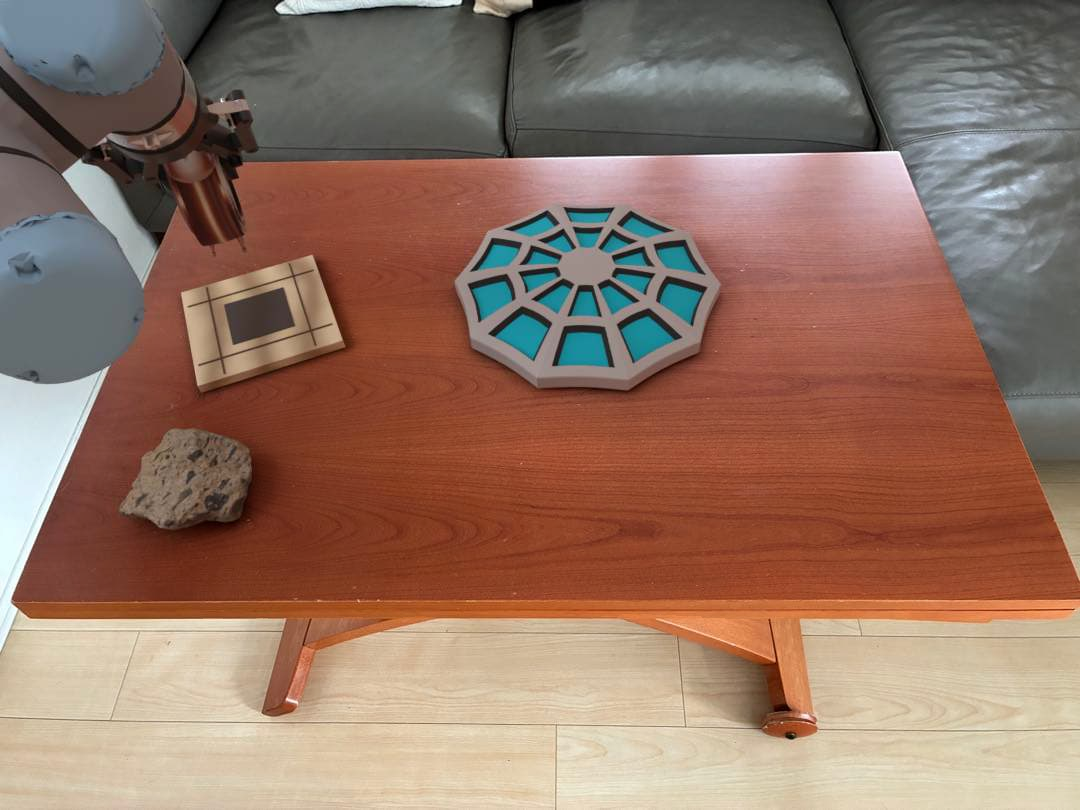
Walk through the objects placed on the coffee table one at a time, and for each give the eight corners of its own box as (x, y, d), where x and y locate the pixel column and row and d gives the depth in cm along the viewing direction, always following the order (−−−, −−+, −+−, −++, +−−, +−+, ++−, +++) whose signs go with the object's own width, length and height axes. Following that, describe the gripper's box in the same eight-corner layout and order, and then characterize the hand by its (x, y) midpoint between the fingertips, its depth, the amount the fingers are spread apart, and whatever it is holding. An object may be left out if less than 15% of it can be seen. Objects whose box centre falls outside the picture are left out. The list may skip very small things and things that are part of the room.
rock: (219, 554, 71) (201, 530, 67) (118, 524, 73) (96, 501, 70) (276, 463, 77) (262, 437, 74) (181, 438, 79) (164, 413, 76)
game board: (201, 393, 83) (196, 385, 82) (184, 299, 92) (180, 291, 91) (345, 347, 86) (342, 339, 85) (315, 261, 96) (312, 253, 95)
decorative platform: (439, 389, 82) (431, 358, 78) (471, 217, 100) (466, 184, 96) (730, 396, 80) (738, 364, 76) (709, 218, 98) (714, 185, 94)
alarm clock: (258, 262, 76) (200, 124, 64) (209, 275, 75) (140, 139, 63) (242, 200, 82) (186, 65, 71) (196, 212, 81) (132, 77, 70)
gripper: (28, 184, 53) (124, 234, 75) (285, 120, 57) (303, 186, 79) (-16, 75, 52) (95, 159, 74) (250, 17, 56) (278, 113, 78)
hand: (202, 173), depth 77 cm, fingers closed on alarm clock, 5 cm apart
